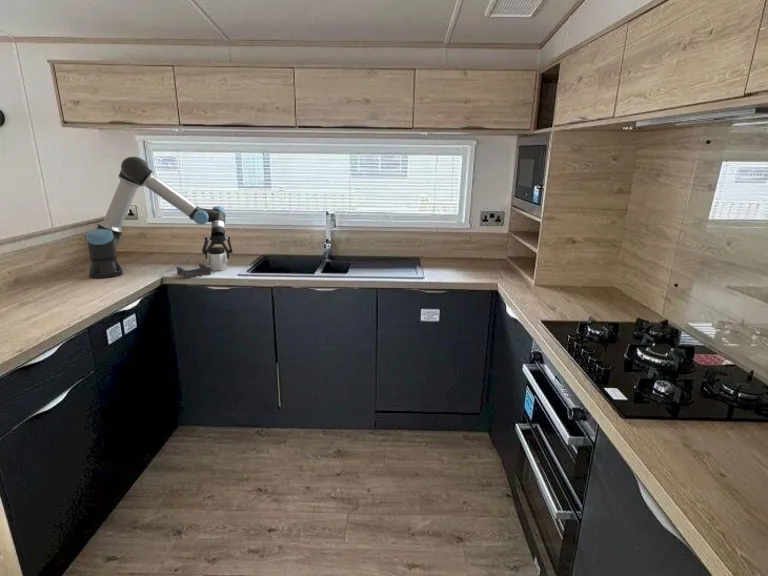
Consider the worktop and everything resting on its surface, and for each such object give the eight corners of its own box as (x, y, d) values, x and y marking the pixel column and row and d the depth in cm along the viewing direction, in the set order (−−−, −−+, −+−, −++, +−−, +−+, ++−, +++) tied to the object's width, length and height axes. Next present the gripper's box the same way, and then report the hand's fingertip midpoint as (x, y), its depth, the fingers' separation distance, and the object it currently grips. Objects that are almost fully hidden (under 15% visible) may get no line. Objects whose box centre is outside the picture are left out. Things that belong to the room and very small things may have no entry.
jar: (228, 269, 242) (226, 248, 239) (213, 271, 237) (211, 250, 234) (222, 266, 249) (221, 246, 246) (208, 268, 244) (206, 247, 241)
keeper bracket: (177, 273, 232) (176, 266, 231) (201, 270, 241) (200, 263, 240) (186, 278, 223) (185, 271, 222) (210, 274, 232) (210, 267, 231)
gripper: (238, 233, 255) (238, 266, 245) (199, 234, 250) (197, 267, 240) (236, 226, 249) (236, 258, 238) (197, 226, 244) (195, 260, 233)
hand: (217, 263), depth 239 cm, fingers closed on jar, 9 cm apart
